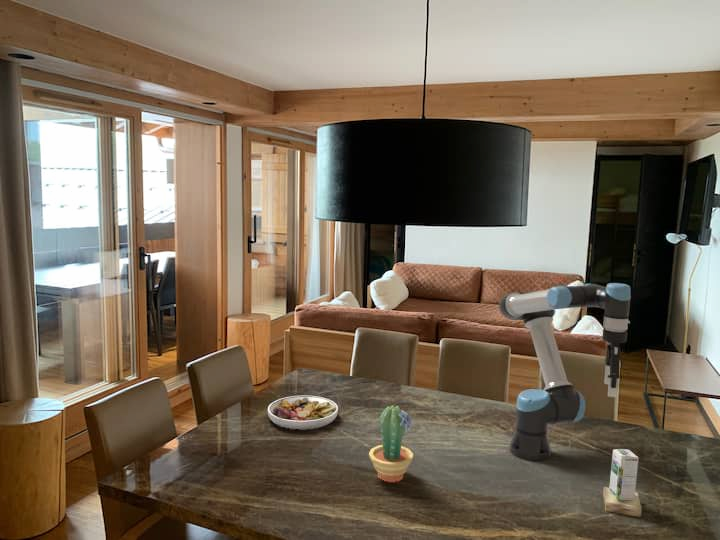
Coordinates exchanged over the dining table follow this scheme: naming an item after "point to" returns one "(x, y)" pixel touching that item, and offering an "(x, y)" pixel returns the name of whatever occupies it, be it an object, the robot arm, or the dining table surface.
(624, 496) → the syrup box
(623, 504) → the panel
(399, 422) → the potted cactus
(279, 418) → the bowl
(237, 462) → the dining table surface
